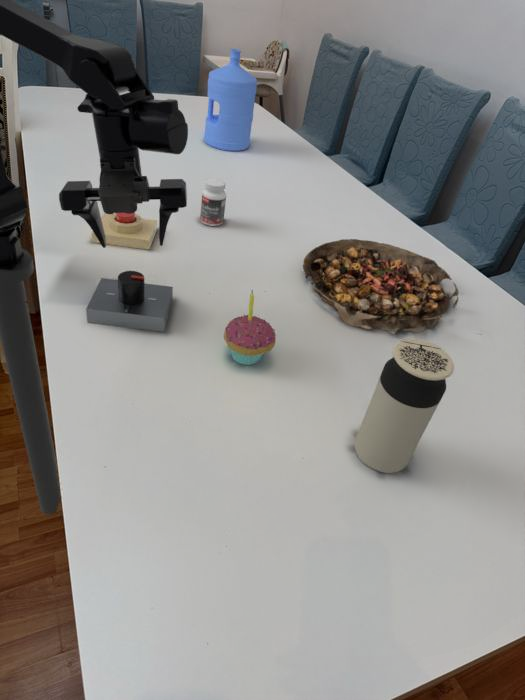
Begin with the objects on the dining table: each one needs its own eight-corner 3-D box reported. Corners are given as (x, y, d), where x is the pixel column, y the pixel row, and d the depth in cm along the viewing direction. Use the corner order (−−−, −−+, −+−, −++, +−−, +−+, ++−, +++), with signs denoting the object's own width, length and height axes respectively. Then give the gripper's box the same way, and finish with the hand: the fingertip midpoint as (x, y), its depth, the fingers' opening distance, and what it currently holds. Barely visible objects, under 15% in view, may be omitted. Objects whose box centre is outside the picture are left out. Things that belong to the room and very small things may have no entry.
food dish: (406, 364, 90) (419, 330, 85) (268, 286, 105) (273, 254, 100) (479, 294, 112) (493, 264, 107) (356, 238, 127) (363, 210, 122)
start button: (114, 223, 106) (113, 215, 105) (118, 215, 109) (118, 207, 108) (133, 225, 106) (132, 218, 105) (136, 217, 110) (136, 210, 109)
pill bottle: (196, 223, 120) (199, 183, 114) (204, 214, 124) (207, 175, 118) (219, 228, 119) (223, 188, 113) (226, 219, 124) (230, 180, 118)
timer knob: (116, 302, 85) (115, 281, 83) (121, 288, 89) (120, 267, 86) (141, 305, 86) (141, 284, 83) (146, 291, 89) (146, 270, 86)
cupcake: (215, 343, 85) (222, 284, 78) (261, 338, 88) (271, 280, 81) (230, 376, 79) (239, 315, 72) (279, 369, 82) (292, 310, 75)
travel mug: (406, 481, 68) (457, 387, 57) (350, 464, 69) (389, 367, 58) (408, 440, 74) (455, 347, 63) (357, 424, 75) (393, 330, 64)
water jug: (251, 141, 176) (263, 51, 159) (246, 155, 164) (257, 58, 146) (208, 133, 176) (215, 42, 159) (199, 146, 164) (205, 49, 146)
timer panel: (87, 323, 85) (85, 308, 83) (102, 291, 92) (101, 277, 90) (164, 332, 86) (164, 317, 84) (172, 300, 93) (172, 285, 92)
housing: (92, 242, 106) (91, 224, 103) (104, 222, 113) (103, 205, 111) (149, 249, 107) (149, 232, 104) (157, 229, 115) (157, 212, 112)
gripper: (38, 163, 65) (64, 270, 75) (181, 161, 67) (189, 265, 76) (57, 142, 74) (78, 240, 84) (182, 140, 76) (190, 236, 85)
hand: (133, 245), depth 82 cm, fingers open, 9 cm apart
